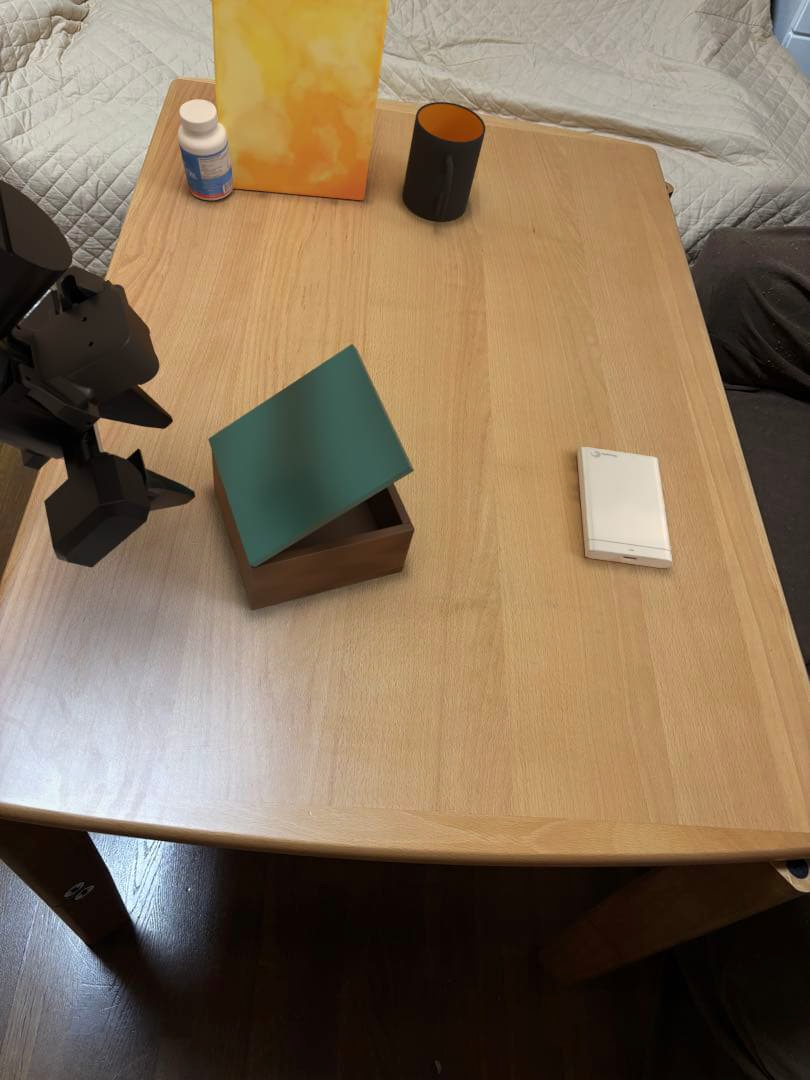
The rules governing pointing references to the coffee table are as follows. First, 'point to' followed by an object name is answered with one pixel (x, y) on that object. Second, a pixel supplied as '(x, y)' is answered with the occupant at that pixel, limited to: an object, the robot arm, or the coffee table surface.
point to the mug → (442, 160)
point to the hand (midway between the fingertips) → (179, 459)
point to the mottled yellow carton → (299, 92)
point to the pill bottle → (205, 151)
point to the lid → (307, 456)
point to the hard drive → (623, 508)
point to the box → (326, 550)
